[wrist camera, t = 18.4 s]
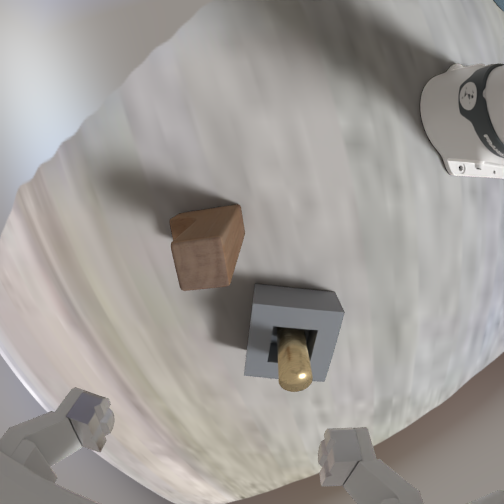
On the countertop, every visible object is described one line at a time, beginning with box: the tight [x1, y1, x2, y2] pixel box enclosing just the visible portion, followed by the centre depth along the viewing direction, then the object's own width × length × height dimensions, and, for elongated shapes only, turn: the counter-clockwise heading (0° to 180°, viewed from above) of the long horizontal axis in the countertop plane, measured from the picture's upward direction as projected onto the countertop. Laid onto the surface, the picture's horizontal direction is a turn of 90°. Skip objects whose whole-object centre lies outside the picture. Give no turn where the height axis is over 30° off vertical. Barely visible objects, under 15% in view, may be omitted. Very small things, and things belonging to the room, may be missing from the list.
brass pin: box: [277, 327, 313, 392], centre depth 39 cm, size 4×4×12 cm
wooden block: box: [170, 204, 245, 291], centre depth 34 cm, size 9×4×18 cm, turn 98°
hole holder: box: [244, 284, 345, 382], centre depth 43 cm, size 12×12×6 cm
